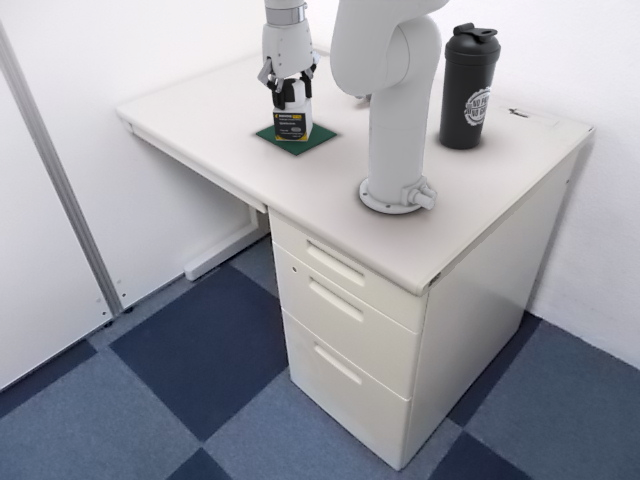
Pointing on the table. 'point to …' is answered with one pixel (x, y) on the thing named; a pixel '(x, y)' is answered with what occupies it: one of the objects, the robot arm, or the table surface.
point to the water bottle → (467, 84)
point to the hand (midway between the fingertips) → (293, 101)
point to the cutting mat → (298, 147)
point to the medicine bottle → (293, 113)
